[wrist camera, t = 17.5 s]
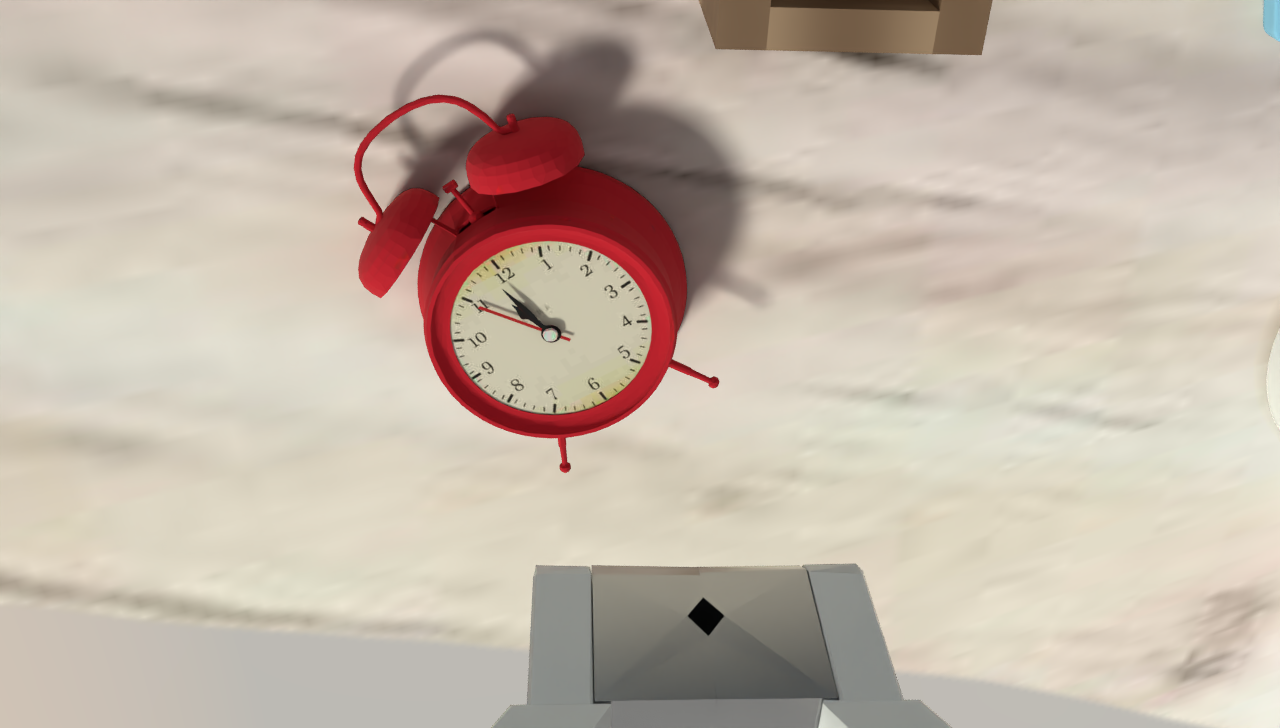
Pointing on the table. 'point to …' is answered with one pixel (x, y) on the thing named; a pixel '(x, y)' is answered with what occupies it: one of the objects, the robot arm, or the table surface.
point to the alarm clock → (535, 281)
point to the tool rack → (850, 25)
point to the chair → (1272, 18)
